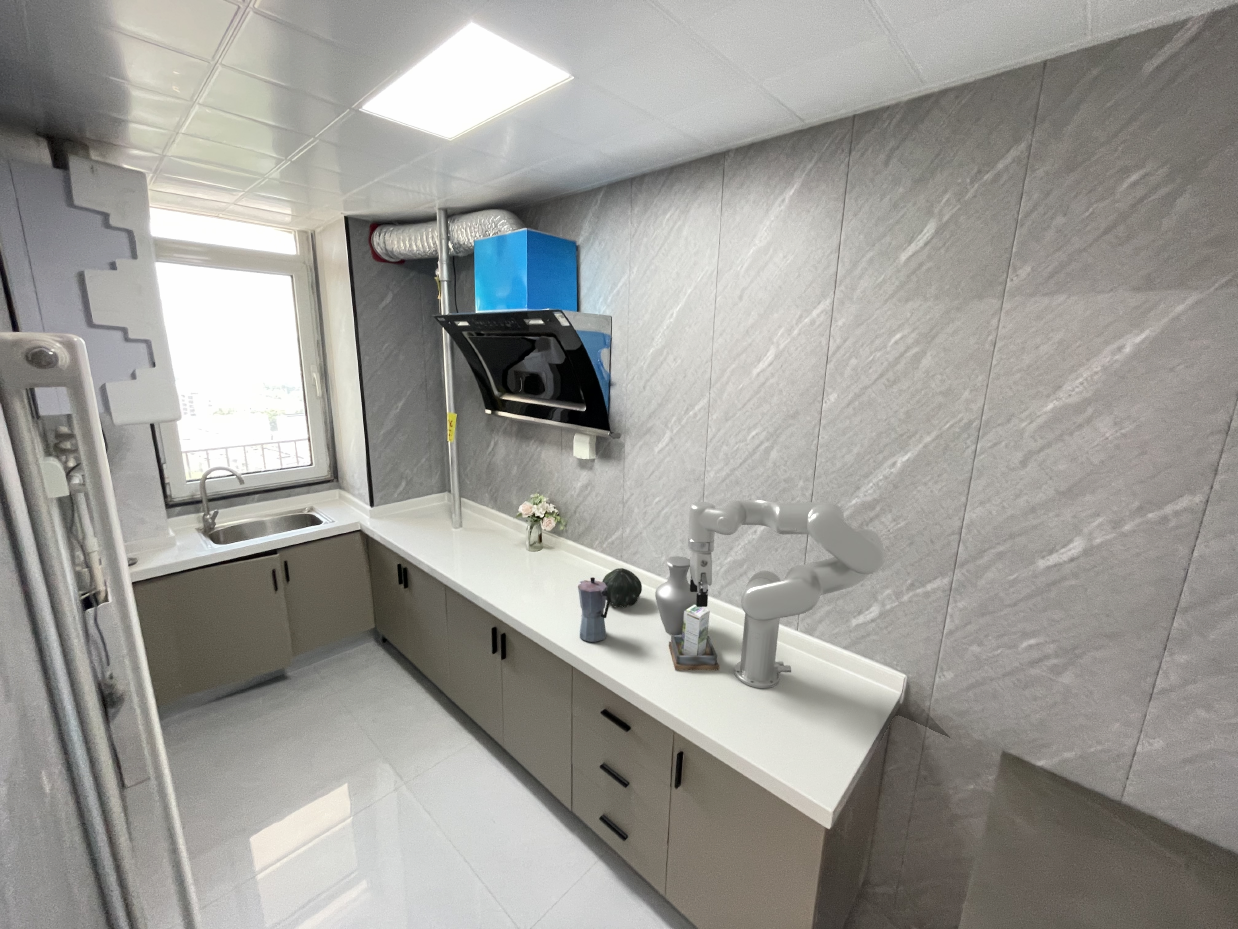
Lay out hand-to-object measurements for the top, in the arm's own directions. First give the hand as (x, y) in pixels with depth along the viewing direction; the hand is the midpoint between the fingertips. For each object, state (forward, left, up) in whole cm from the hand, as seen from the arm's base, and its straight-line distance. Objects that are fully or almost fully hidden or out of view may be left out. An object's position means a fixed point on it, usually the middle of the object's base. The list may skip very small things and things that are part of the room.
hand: (698, 598), depth 153 cm
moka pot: (+31, -12, -20) cm, 39 cm away
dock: (0, 0, -20) cm, 20 cm away
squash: (+20, -36, -20) cm, 46 cm away
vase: (+3, -16, -20) cm, 26 cm away
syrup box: (0, 0, -18) cm, 18 cm away
